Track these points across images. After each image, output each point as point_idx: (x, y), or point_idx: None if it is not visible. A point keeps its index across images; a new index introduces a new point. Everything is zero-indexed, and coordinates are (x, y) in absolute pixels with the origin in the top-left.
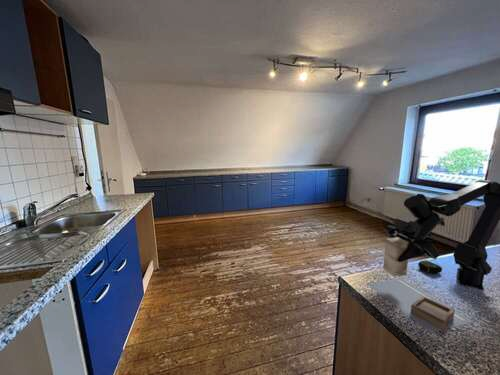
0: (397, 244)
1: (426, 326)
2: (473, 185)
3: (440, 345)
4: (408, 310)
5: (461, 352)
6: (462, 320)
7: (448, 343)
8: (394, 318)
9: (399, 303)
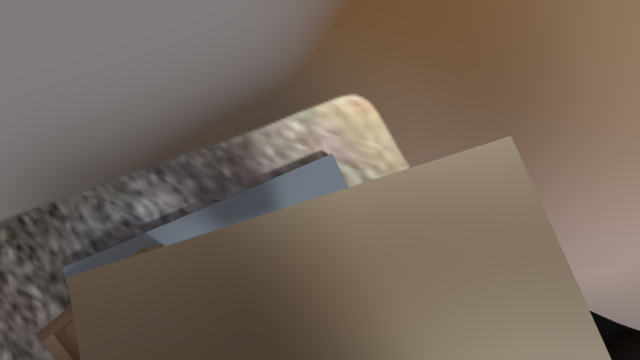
0: (81, 310)
1: (91, 265)
2: None
3: (33, 272)
4: (176, 242)
5: (4, 324)
6: None
7: (41, 304)
8: (152, 183)
9: (216, 227)
